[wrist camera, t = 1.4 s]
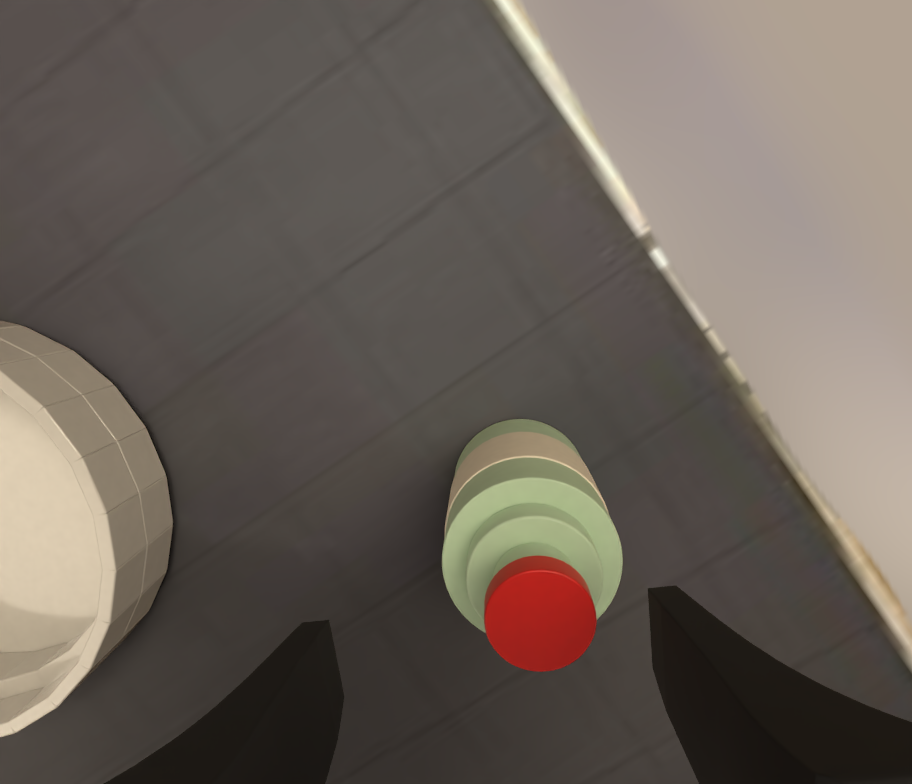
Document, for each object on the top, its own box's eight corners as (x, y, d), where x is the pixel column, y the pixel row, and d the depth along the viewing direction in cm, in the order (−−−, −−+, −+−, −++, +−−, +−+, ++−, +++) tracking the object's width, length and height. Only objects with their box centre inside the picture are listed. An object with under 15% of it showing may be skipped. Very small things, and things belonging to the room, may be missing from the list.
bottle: (585, 414, 24) (652, 513, 14) (588, 542, 25) (652, 717, 15) (449, 420, 24) (423, 521, 15) (456, 546, 25) (437, 721, 16)
